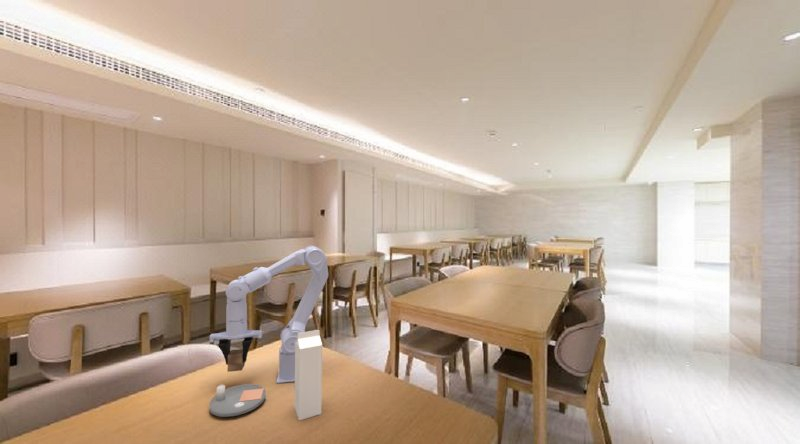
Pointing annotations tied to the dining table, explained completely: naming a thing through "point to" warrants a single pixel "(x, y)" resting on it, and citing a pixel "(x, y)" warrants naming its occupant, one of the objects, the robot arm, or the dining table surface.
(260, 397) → the turntable
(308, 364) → the milk
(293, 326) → the robot arm
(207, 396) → the dining table surface
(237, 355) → the walnut block
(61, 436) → the dining table surface
